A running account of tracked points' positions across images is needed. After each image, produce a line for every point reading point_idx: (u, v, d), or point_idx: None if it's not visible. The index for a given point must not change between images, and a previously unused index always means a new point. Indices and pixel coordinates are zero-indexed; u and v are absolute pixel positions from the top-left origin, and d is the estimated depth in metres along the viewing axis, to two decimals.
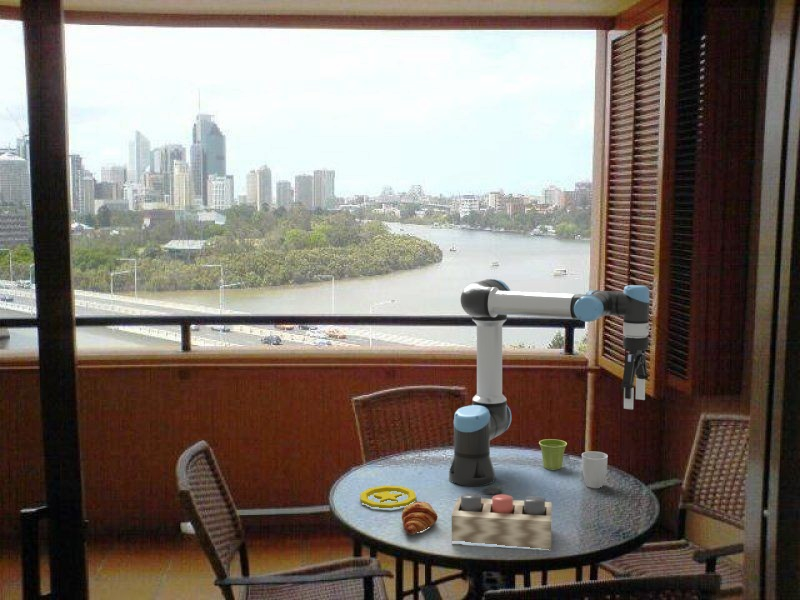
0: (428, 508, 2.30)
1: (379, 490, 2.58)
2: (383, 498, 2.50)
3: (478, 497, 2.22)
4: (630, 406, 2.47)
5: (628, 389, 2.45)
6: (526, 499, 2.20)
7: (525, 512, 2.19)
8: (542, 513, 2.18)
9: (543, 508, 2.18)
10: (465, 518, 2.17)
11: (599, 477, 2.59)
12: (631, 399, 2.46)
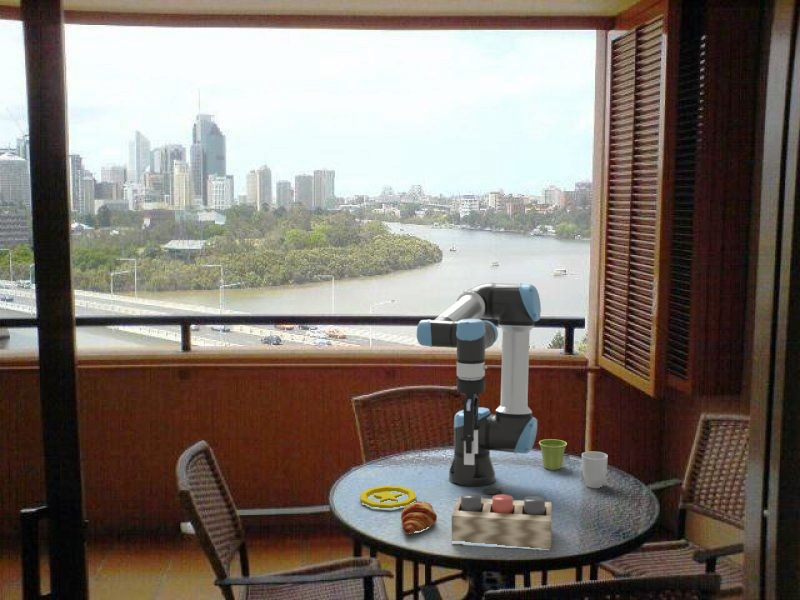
0: (427, 508, 2.30)
1: (379, 490, 2.58)
2: (383, 498, 2.50)
3: (478, 497, 2.22)
4: (471, 461, 2.16)
5: (469, 443, 2.15)
6: (526, 499, 2.20)
7: (525, 512, 2.19)
8: (542, 513, 2.18)
9: (543, 508, 2.18)
10: (465, 518, 2.17)
11: (599, 477, 2.59)
12: (472, 453, 2.16)
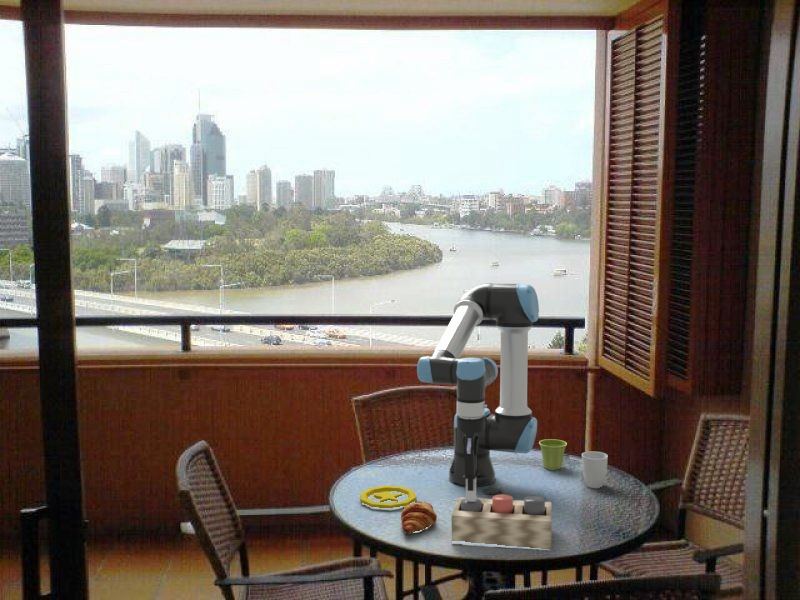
0: (427, 508, 2.30)
1: (379, 490, 2.58)
2: (383, 498, 2.50)
3: (478, 502, 2.22)
4: (473, 498, 2.22)
5: (471, 480, 2.21)
6: (526, 499, 2.20)
7: (525, 512, 2.19)
8: (542, 513, 2.18)
9: (543, 508, 2.18)
10: (465, 518, 2.17)
11: (599, 477, 2.59)
12: (474, 491, 2.22)
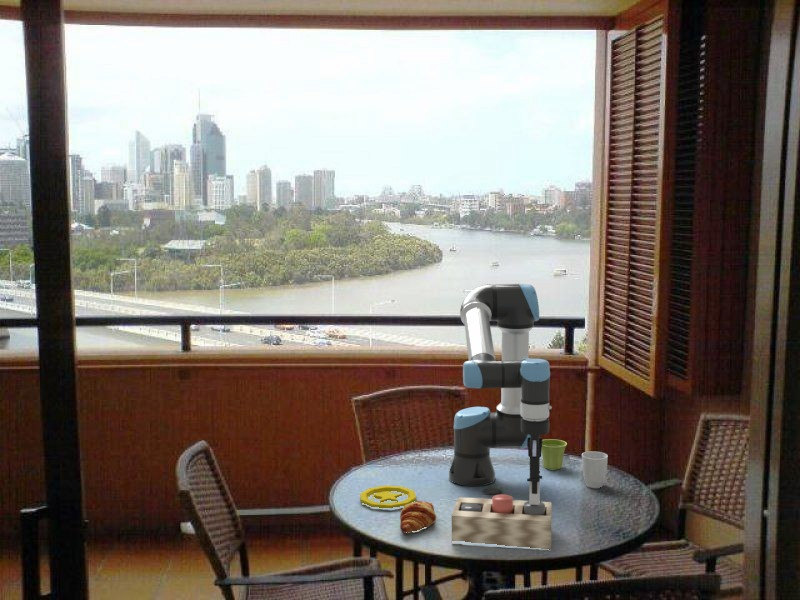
0: (426, 508, 2.30)
1: (379, 490, 2.58)
2: (383, 498, 2.50)
3: (478, 508, 2.22)
4: (537, 501, 2.19)
5: (535, 483, 2.17)
6: (526, 504, 2.20)
7: None
8: None
9: (543, 513, 2.19)
10: (465, 518, 2.17)
11: (599, 477, 2.59)
12: (538, 493, 2.19)
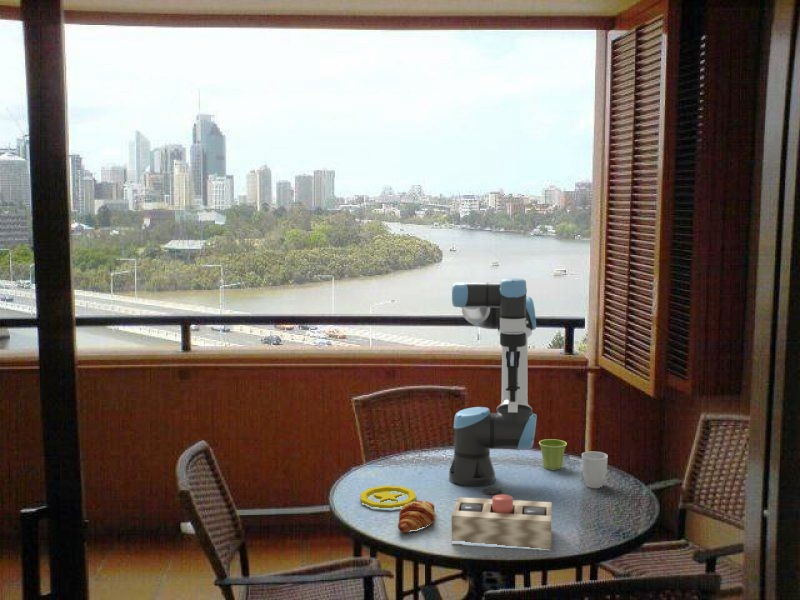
0: (425, 508, 2.30)
1: (379, 490, 2.58)
2: (383, 498, 2.50)
3: (478, 508, 2.22)
4: (515, 409, 2.39)
5: (513, 392, 2.38)
6: (526, 510, 2.21)
7: None
8: None
9: None
10: (465, 518, 2.17)
11: (599, 477, 2.59)
12: (516, 402, 2.39)
